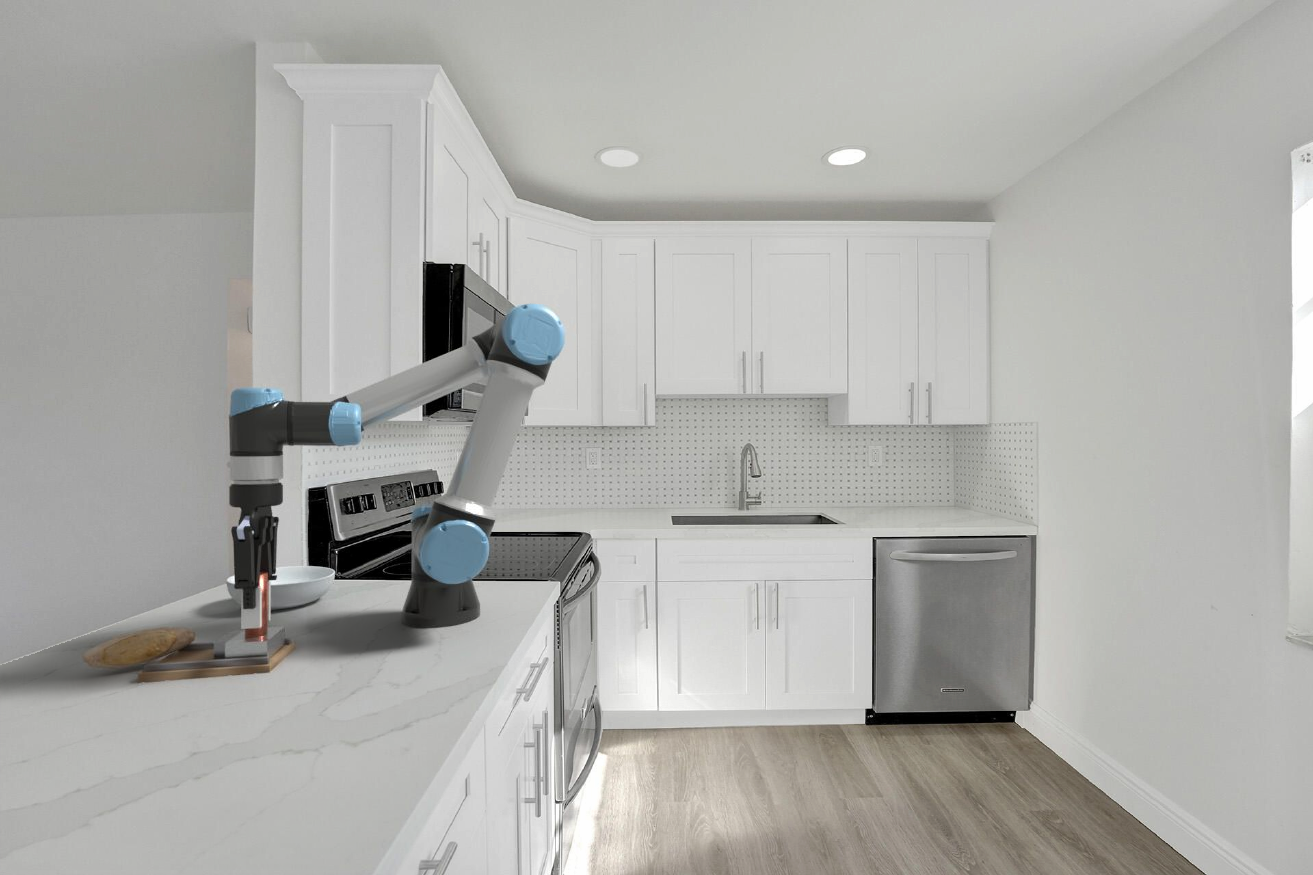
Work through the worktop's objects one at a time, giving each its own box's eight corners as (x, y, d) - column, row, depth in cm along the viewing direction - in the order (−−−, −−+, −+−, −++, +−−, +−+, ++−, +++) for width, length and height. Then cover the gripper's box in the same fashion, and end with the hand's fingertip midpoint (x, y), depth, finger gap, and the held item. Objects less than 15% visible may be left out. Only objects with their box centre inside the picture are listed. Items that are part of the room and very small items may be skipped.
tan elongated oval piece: (192, 618, 107) (192, 619, 110) (79, 644, 98) (82, 644, 102) (197, 650, 106) (196, 649, 110) (83, 679, 98) (86, 677, 101)
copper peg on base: (284, 644, 111) (284, 568, 111) (267, 659, 103) (267, 578, 103) (232, 647, 109) (232, 570, 109) (210, 663, 101) (211, 580, 101)
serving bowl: (303, 618, 133) (303, 585, 133) (202, 618, 133) (202, 584, 133) (352, 594, 154) (352, 565, 154) (265, 593, 154) (265, 564, 154)
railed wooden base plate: (295, 650, 113) (295, 636, 113) (269, 675, 101) (269, 659, 101) (178, 657, 109) (178, 642, 109) (138, 683, 97) (138, 667, 97)
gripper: (251, 479, 113) (250, 612, 113) (207, 485, 98) (207, 640, 98) (297, 478, 115) (297, 610, 115) (262, 485, 99) (262, 637, 99)
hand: (256, 623), depth 106 cm, fingers closed on copper peg on base, 3 cm apart
